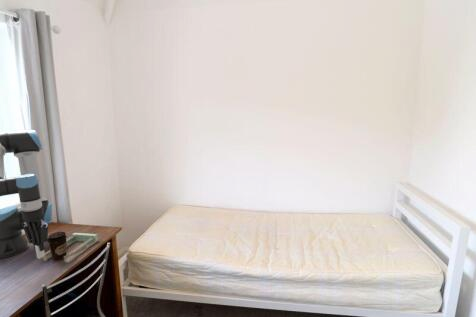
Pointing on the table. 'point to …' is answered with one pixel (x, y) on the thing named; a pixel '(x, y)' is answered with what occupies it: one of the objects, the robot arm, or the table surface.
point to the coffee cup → (57, 245)
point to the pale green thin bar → (69, 242)
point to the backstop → (84, 236)
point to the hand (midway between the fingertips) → (41, 256)
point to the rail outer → (79, 250)
